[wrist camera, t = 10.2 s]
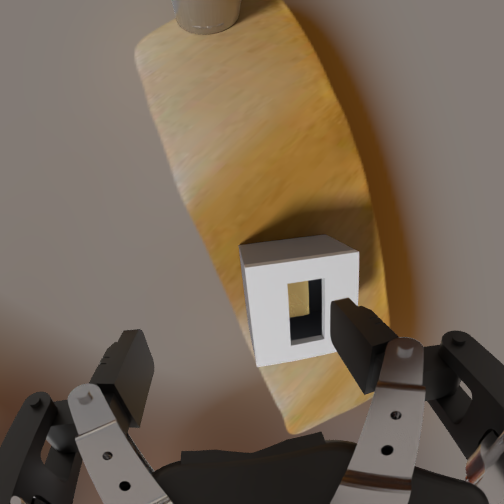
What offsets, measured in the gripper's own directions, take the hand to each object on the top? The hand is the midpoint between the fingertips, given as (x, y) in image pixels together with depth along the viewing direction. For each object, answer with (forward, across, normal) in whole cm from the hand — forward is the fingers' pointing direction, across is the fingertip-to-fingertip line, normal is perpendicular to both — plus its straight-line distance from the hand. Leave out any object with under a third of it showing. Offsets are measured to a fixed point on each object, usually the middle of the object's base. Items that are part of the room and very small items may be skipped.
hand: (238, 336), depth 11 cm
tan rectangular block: (+22, -7, +8) cm, 24 cm away
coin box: (+25, -7, +9) cm, 28 cm away
